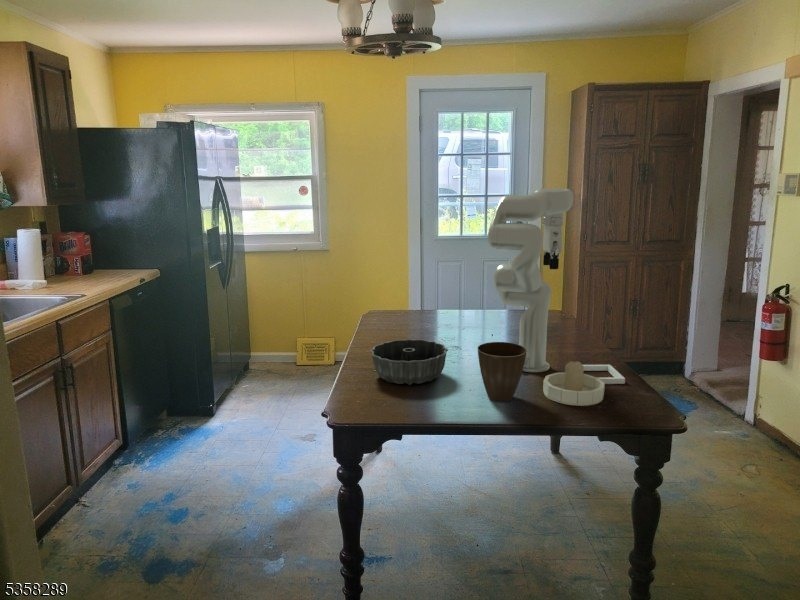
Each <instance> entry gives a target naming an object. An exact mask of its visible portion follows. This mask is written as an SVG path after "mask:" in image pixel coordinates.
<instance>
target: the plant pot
mask: <svg viewBox="0 0 800 600" xmlns="http://www.w3.org/2000/svg"><path fill="white" fill-rule="evenodd" d="M526 353H527V349H526V348H525V347H523V346H521V345H519V343H518V344H517V343H513V342H509V341H491V342H484V343H481V344H479V345H478V346H477V355H478V363H479V369H480V374H481V378H482V379H481V380H482V382H483V385H484V390H485V391H486V392H485V393H486V395H487V398H488V399H489V400H491V401H493V402H498V403H506V402H509V401H511V400H512V399H513V398H514V395H515V393H516V391H517V389H518V385H519V383H520V381H521V377H522V374H523V372H524V371H523V367H524V363H525V358H526Z"/></svg>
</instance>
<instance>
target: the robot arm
mask: <svg viewBox="0 0 800 600" xmlns="http://www.w3.org/2000/svg"><path fill="white" fill-rule="evenodd" d="M574 200H575V199H574V194H573V192H572V190H571V189H569V188H539V189H536V190H535V191H534V192H532V193H530V194H527V195H522V194H521V195H518V194H517V195H515V194H514V195H511V194H510V195H509V194H507V195H504V196H502V197H501V198H500V199H499V201H498V203H497V204H496V208H495V210H494V213H493V215H492V219H491V222H490V225H489V229H488V232H487V242H488V244H489V246H490V247H491V248H493V249H496V250H506V251H507V250H510V251H520V252H518V253H517V254H516V255H514V257H513V259H512V260H511V262H510V263H500V265H497V267H496V268H495V270H494V274H493V284H494V287H495V289H496V290H495V291H496V292H497V294H498V296H499V298H500V300H501V302H502V303H503V304H504V305H507V306H513V307H521V308H522V307H523V308H527V310H525V312H523V314H522V315H521V316H520V318H519V330H518V331H519V332H518V334H519V335H518V337H519V338H518V345H521V346H523V347H525V348H526V349H527V353H526V358H525V363H524V367H523V371H522V372H524V373H525V372H526V373H543V372H546V371H548V370H550V366H551V365H550V364H549V363H548V362H547V361H546V358H547V356H546V355H547V337H548V332H547V331H548V317H549V315H548V314H549V309H550V303H551V298H552V287H551V286H550V284H548V283H547V282H545V281H543V278H542V273H541V271H540V270H541V269H540V267H539V265H538V262H539V259H540V256H541V254H542V249H543V258H542V259H543V261H542V263H543V266H549V267H548V268H549V270H559V266H560V265H559V264H560V263H559V262H560V254H561V253H562V250H563V249H562V248H563V245H562V244H563V243H562V242H563V234H562V233H563V232H562V227H563V226H564V214H565V213H567V212H568V211H570V210H571V208H572V207H573V204H574ZM541 217H542V222H541V223H542V224H541V225H542V227H544V229H543V230H542V229H541V227H539V226H538V225H536V224H532V223H529V222H533V221H537V220H538V219H540V218H541ZM518 222H519V223H518ZM522 222H523V223H522ZM526 222H527V223H526Z"/></svg>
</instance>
